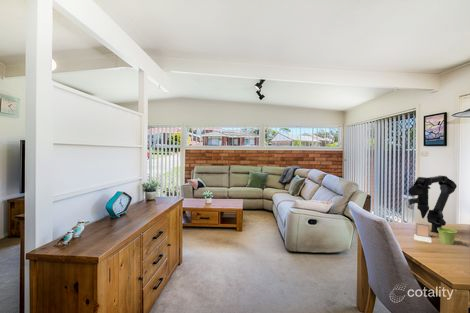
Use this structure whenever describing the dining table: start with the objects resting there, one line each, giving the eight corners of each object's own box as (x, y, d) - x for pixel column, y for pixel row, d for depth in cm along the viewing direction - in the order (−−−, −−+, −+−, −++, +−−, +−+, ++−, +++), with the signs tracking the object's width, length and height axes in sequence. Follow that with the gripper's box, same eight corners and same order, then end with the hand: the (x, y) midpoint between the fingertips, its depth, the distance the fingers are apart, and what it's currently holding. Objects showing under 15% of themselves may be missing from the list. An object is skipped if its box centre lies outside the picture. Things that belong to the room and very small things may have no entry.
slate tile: (416, 234, 167) (416, 223, 166) (429, 236, 162) (429, 225, 162) (416, 235, 165) (416, 223, 165) (429, 237, 161) (429, 225, 161)
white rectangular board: (414, 234, 168) (414, 233, 168) (430, 237, 163) (430, 236, 163) (413, 240, 157) (413, 239, 157) (431, 243, 152) (431, 242, 152)
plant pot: (460, 247, 146) (461, 233, 146) (442, 245, 148) (443, 231, 148) (450, 241, 155) (450, 228, 155) (433, 240, 157) (433, 227, 157)
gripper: (409, 192, 181) (409, 212, 181) (408, 195, 166) (408, 218, 167) (428, 193, 174) (428, 215, 175) (429, 197, 160) (428, 221, 160)
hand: (422, 217), depth 169 cm, fingers open, 6 cm apart
